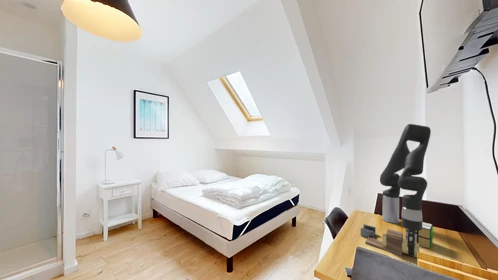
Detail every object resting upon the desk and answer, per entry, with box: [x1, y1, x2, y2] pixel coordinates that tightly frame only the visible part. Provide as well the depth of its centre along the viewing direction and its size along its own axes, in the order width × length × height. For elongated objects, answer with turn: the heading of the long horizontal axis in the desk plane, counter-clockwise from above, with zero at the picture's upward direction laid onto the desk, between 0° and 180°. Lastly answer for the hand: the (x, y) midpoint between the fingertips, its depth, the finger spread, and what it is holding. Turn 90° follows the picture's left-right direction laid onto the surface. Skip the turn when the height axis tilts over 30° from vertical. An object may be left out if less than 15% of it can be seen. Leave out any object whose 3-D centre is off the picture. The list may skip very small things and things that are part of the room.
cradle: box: [360, 224, 377, 239], centre depth 110 cm, size 8×6×4 cm
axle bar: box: [381, 233, 420, 258], centre depth 93 cm, size 4×14×5 cm, turn 48°
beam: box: [365, 228, 404, 257], centre depth 98 cm, size 7×15×9 cm, turn 47°
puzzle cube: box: [405, 221, 434, 250], centre depth 103 cm, size 10×10×10 cm
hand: (411, 253), depth 90 cm, fingers closed on axle bar, 4 cm apart
